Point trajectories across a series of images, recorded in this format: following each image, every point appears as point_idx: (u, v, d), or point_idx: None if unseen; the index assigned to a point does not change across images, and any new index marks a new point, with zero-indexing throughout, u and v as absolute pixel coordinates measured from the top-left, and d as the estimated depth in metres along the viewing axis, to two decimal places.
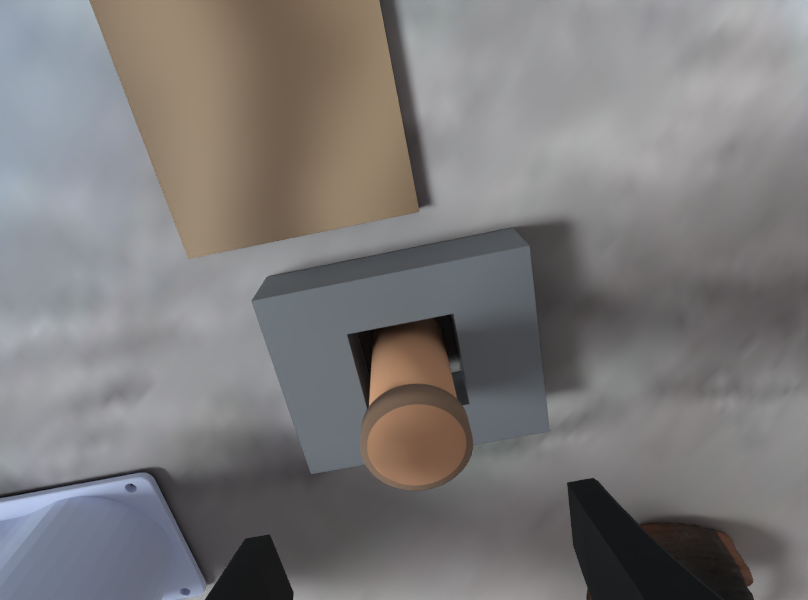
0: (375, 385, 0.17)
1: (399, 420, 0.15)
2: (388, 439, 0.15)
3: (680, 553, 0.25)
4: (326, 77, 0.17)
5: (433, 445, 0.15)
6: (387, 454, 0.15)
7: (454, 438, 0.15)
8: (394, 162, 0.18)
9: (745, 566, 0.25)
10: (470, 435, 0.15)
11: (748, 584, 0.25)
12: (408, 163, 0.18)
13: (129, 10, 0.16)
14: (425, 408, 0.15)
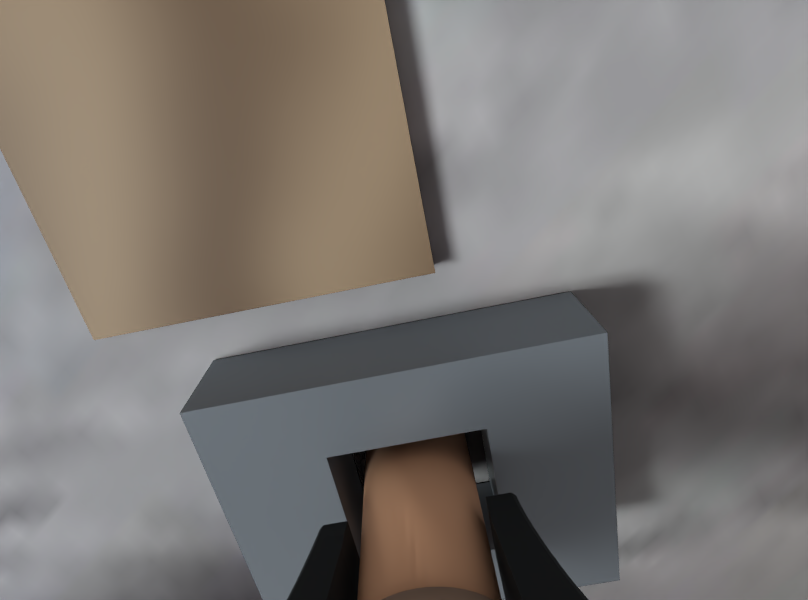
0: (368, 559, 0.11)
1: None
2: None
3: None
4: (291, 71, 0.11)
5: None
6: None
7: None
8: (398, 202, 0.12)
9: None
10: None
11: None
12: (419, 202, 0.12)
13: None
14: None
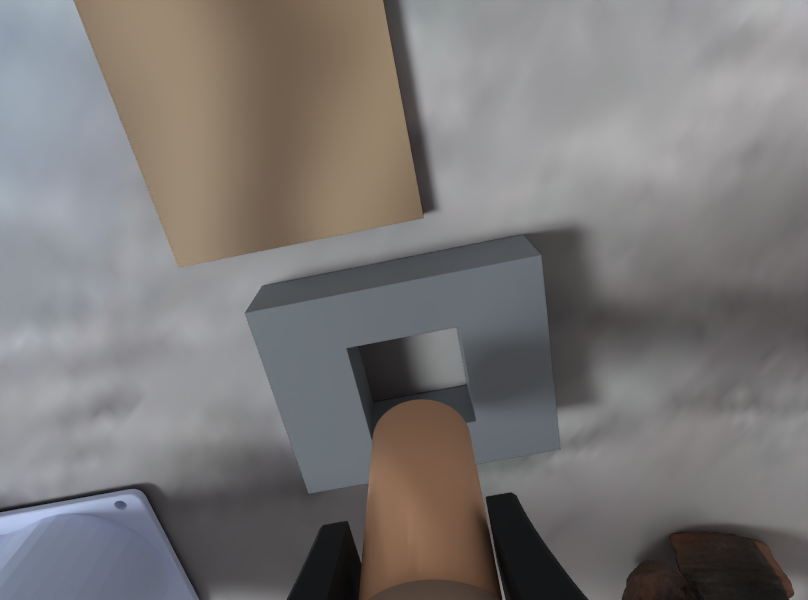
0: (370, 552, 0.11)
1: None
2: None
3: (717, 565, 0.23)
4: (324, 75, 0.16)
5: None
6: None
7: None
8: (397, 166, 0.17)
9: (786, 577, 0.24)
10: None
11: (789, 596, 0.24)
12: (412, 166, 0.17)
13: (113, 2, 0.15)
14: None
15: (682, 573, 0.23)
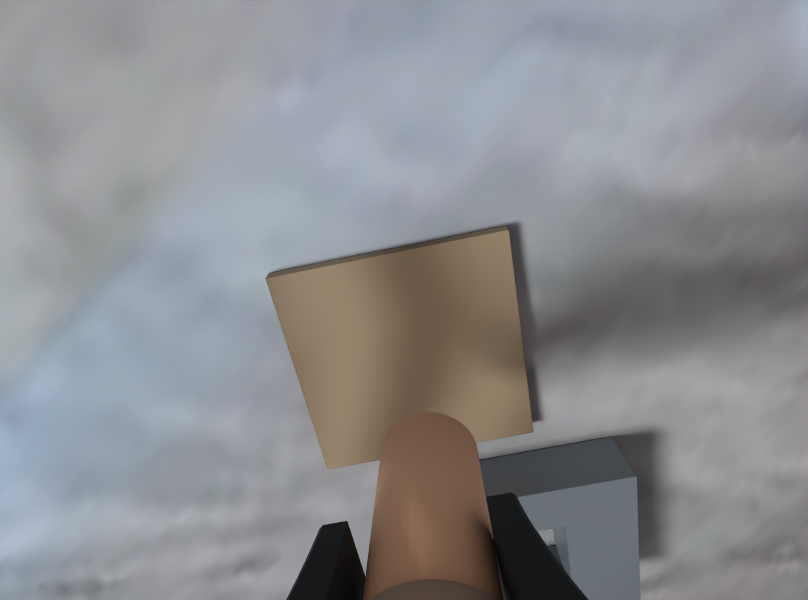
0: (373, 557, 0.11)
1: None
2: None
3: None
4: (463, 336, 0.20)
5: None
6: None
7: None
8: (515, 396, 0.21)
9: None
10: None
11: None
12: (527, 396, 0.21)
13: (301, 291, 0.19)
14: None
15: None
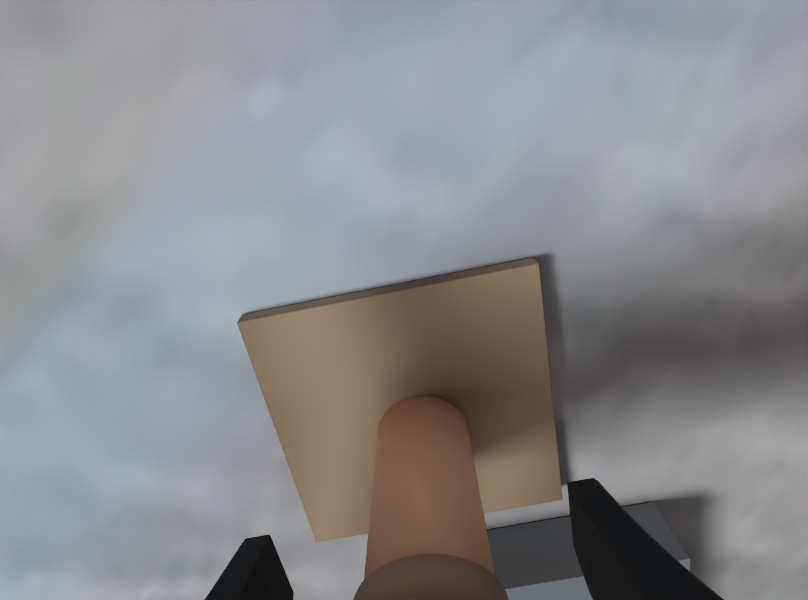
0: (374, 533, 0.12)
1: None
2: None
3: None
4: (480, 390, 0.16)
5: None
6: None
7: None
8: (542, 459, 0.17)
9: None
10: None
11: None
12: (556, 459, 0.17)
13: (280, 337, 0.15)
14: None
15: None
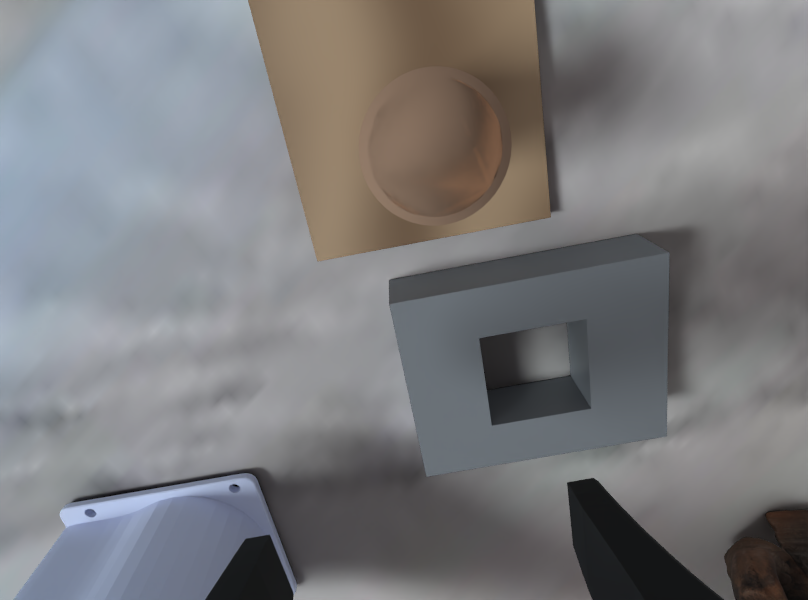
0: None
1: (413, 103, 0.11)
2: (397, 136, 0.11)
3: None
4: None
5: (458, 150, 0.11)
6: (395, 163, 0.11)
7: (486, 136, 0.11)
8: (531, 168, 0.18)
9: None
10: (508, 133, 0.11)
11: None
12: (545, 169, 0.19)
13: (287, 14, 0.16)
14: (448, 83, 0.11)
15: (784, 548, 0.24)
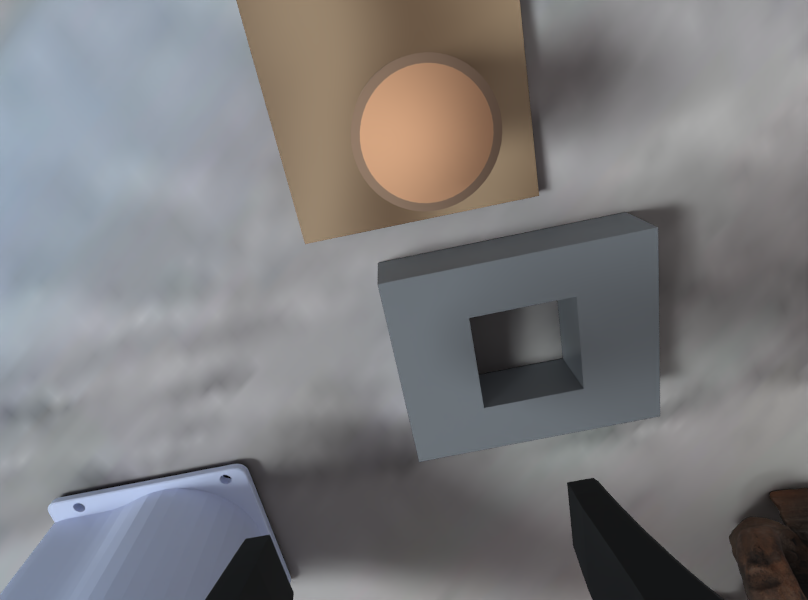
0: None
1: (405, 90, 0.11)
2: (389, 122, 0.11)
3: None
4: None
5: (449, 137, 0.11)
6: (387, 148, 0.11)
7: (477, 124, 0.11)
8: (518, 146, 0.18)
9: None
10: (499, 121, 0.11)
11: None
12: (532, 146, 0.18)
13: None
14: (441, 70, 0.11)
15: (789, 526, 0.24)
